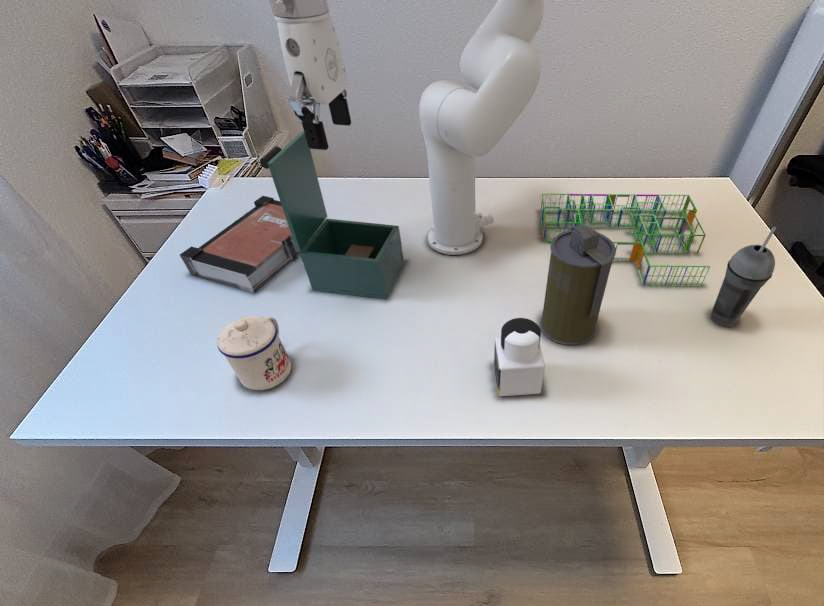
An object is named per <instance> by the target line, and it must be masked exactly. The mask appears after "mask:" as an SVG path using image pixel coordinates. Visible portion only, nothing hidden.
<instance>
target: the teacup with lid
mask: <svg viewBox="0 0 824 606" xmlns="http://www.w3.org/2000/svg"><path fill="white" fill-rule="evenodd" d="M216 344H217V345H216V346H217V349H218V351H219V352H220V354H222V355H223V356H224V357H225V359H226V361H227V362H228V364H229V366H230V367H231V369H232V370H233V371H234V374H235V375H236V376H237V378H238V380H239V382H240V383H241V384H242V386H243V387H245V388H247V389H249V390H253V391H264V390H269V389H272V388H275V387H276V386H278V385H280V384H281V383H282V382H284V381H285V380H286V379H287V378H288V376H289V375H290V373H291V370H292V362H291V360H290V358H289V355H288V353H287V351H286V349H285V347H284V345H283V342H282V341H281V338H280V327H279V323H278V321H277V319H276V318H275V317H273V316H266V317H263V316H258V315H249V316H244V317H240V318H238V319H235V320H233V321H231V322H229V323H228V324H227V325H225V326H224V327H223V328H222V329H221V331H220V332H219V334H218V335H217V338H216Z"/></svg>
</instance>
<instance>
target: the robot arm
mask: <svg viewBox="0 0 824 606" xmlns="http://www.w3.org/2000/svg"><path fill="white" fill-rule="evenodd" d="M269 5H270V7H271V12H272V15H273V18H274V20H275V21H276V23H277V30H278V31H277V32H278V37H279V43H280V47H281V52H282V53H281V54H282V57H283V61H284V62H283V63H284V65H285V70H286V73H287V74H286V75H287V78H288V81H289V84H290V85H289V86H290V88H289V93H288V95H287V101H288V103H289V104H290V106H291V108H292V110H293V113H294V115H295V117H297V119H298V121H299V123H301V126H302V129H303V132H304V133H305V136H306V140H307V143H308V147H309V148H310V150H318V151H319V150H320V151H327V150H328V149H329V148H330V147H329V142H328V138H327V134H326V131H325V127H324V122H323V121H320V115H321V114H320V112H321V105H322V106H327V105H328V108H329V113H330V117H331V122H332V124H333V125H335V126H346V127H347V126H349V127H350V126H351V125H352V119H351V113H350V108H349V103H348V99H347V97H348V96H347V95H348V92H347V90H346V88H347V85H348V77H347V72H346V68H345V62H344V59H343V55H342V51H341V47H340V43H339V39H338V35H337V32H336V28H335V25H334V22H333V20H332V19H333V18H332V16H331V13H330V9H329V2H328V0H269ZM544 11H545V0H497V1H496V3H495V4H494V6H493V7H492V9H491V10H490V12H489V13H488V14H487V16H486V17H485V18H484V20H483V21H482V22H481V24H480V25H479V27H478V28H477V29H476V31H475V33H473V35H472V36H471V37H470V39H469V41H468V43H467V44H466V45H465V47H464V49H463V50H462V52H461V55H460V59H459V71H460V75H461V77H462V78H463V80H464V81H465V82H466V83H467V85H468V86H470V87H472V88H473V89H475V90H476V92H474V91H473V90H471V89H469V88H467V87H465V86H463V85H461V84H459V83H456V82H454V81H451V80H445V79H444V80H443V79H442V80H441V79H440V80H436V81H433V82H432V83H430V84H429V85H428V86H427V87H426V88H425V89H424V91H423V92H422V94H421V96H420V100H419V104H418V105H419V106H418V118H419V123H420V129H421V132H422V136H423V140H424V144H425V150H426V158H427V166H428V178H429V189H430V190H429V191H430V201H431V214H432V223H433V225H432V226H433V227H432V229H430V230H429V232H428V235H427V243H428V245H429V246H430V248H431V249H433V250H434V251H436V252H438V253H440V254H444V255H448V256H458V255H459V256H460V255H466V254H469V253H471V252H473V251H475V250H477V249H478V248H479V247H480V246H481V245H482V243H483V239H484V236H483V232H482V230H481V229H483V228H484V227H485V226H489V225H491V224H493V223H494V222H495V219H494V216H493V215H492V214H488V215H486V216H484V215H483V214H482V213H481V212H479V213H476V211H477V209H476V208H477V207H476V204H477V203H476V158H479V157H483V156H485V155H487V154H488V153H489V152H491V151H492V150H493V149H494V148H495V147H496V145H498V143H499V142H500V141H501V140H502V138H503V137H504V136H505V134H506V133H507V131H508V130H509V129H510V127H511V126H512V125H513V124H514V122H515V121H516V120H517V119H518V117H519V116H520V115H521V113H522V112H523V111H524V109H525V108H526V107H527V106H528V104H529V102H530V101H531V100H532V98H533V97H534V94H535V92H536V90H537V87H538V86H539V85H538V84H539V81H540V76H541V59H540V56H539V54H538V52H537V50H536V49H535V47H534V46H533V45H532V44H531V42H532V41H533V39H534V38H535V36H536V34H537V33H538V32H539V30H540V27H541V25H542V22H543V18H544ZM308 106H309V107H312V110H310V109H309V108H308Z"/></svg>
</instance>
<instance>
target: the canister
mask: <svg viewBox="0 0 824 606" xmlns="http://www.w3.org/2000/svg"><path fill="white" fill-rule="evenodd" d="M573 226H574V225H573ZM563 231H564V230H563ZM550 241H551V244H550V256H549V263H548V271H547V279H546V286H545V294H544V300H543V308H542V315H541V318H540V321H539V328H540V330H541V333H543V335H544V336H545V337H546V338H547V339H548V340H550V341H552V342H555V343H557V344H559V345H564V346H578V345H582V344H585V343H586V342H588V341H590V340H591V339H592V338H593V337H594V335H595V333H596V331H597V323H598V320H599V314H600V311H601V307H602V304H603V300H604V295H605V291H606V289H607V284H608V280H609V276H610V272H611V268H612V265H613V262H614V261H613V259H614V258H616V254H617V250H616V244H615V245H614V243H613V242H614V241H613V240H611V239H610V238H609V237H608V236H606V235H605V234H603V233H600V232H599V231H597V230H596V229H593V228H592V227H590V226H588V225H587V224H586V225H585V223H582V224H580V225H577V226H574V227H572V228H571V227H569V229H568V230H565V231H564V232H559V233H558V234H557V235H556V234H555V237H554V236H553V238H552V239H551V240H550ZM614 260H615V259H614Z"/></svg>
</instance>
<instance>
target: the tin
mask: <svg viewBox="0 0 824 606" xmlns="http://www.w3.org/2000/svg"><path fill="white" fill-rule="evenodd" d="M351 245H361V246H370V247H375V252H376V259H371V258H362V257H353V256H345V254H346V252H347V251H348V249H349V248H350V246H351ZM299 256H300V259H301V261H302V264H303V267H304V270H305V272H306V275H307V278H308V281H309V283H310V286H311V289H312V291H314V292H315V291H316V292H324V293H330V294H339V295H347V296H356V297H364V298H372V299H380V300H387V298H388V296H389V295H390V292H391V290H392V288H393V286H394V285H395V282H396V280H397V278H398V276H399V274H400V273H401V270H402V268H403V266H404V264H405V258H404V252H403V244H402V238H401V232H400V226H399V225H393V224H383V223H373V222H364V221H354V220H347V219H346V220H345V219H337V218H336V219H334V218H326V219H325V220H324V222H323V224H322V225H321V226H320V228H319V229H318V230H317V231H316V233H315V234H314V235H313V237H312V238H311V239H310V240H309V242H308V243H307V244H306V246H305V247H304V248H303V250H302V251H301V252H300V253H299Z"/></svg>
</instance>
